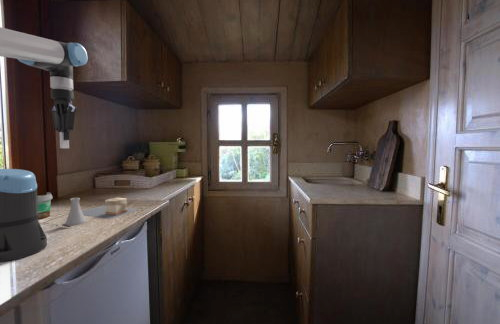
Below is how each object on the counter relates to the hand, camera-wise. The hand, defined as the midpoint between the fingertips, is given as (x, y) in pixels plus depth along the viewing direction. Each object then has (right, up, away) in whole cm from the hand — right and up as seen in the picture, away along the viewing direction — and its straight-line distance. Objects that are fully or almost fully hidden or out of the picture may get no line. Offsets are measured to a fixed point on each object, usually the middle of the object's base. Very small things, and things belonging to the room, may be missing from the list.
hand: (64, 148), depth 104 cm
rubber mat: (+12, -29, +10) cm, 32 cm away
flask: (+9, -30, -6) cm, 32 cm away
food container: (-9, -29, 0) cm, 31 cm away
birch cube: (+17, -22, +7) cm, 29 cm away
